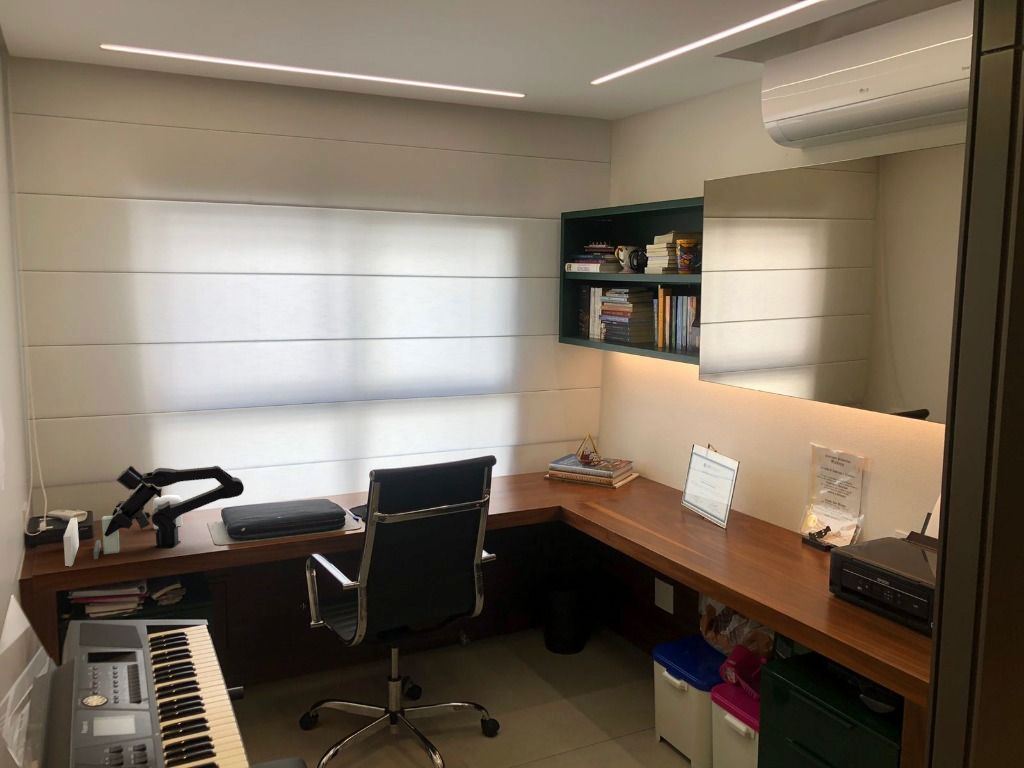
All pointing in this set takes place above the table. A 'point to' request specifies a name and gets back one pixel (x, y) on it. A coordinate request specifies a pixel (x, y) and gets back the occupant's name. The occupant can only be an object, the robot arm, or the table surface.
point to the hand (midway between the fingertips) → (106, 533)
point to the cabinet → (109, 537)
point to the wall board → (75, 543)
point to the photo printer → (173, 500)
